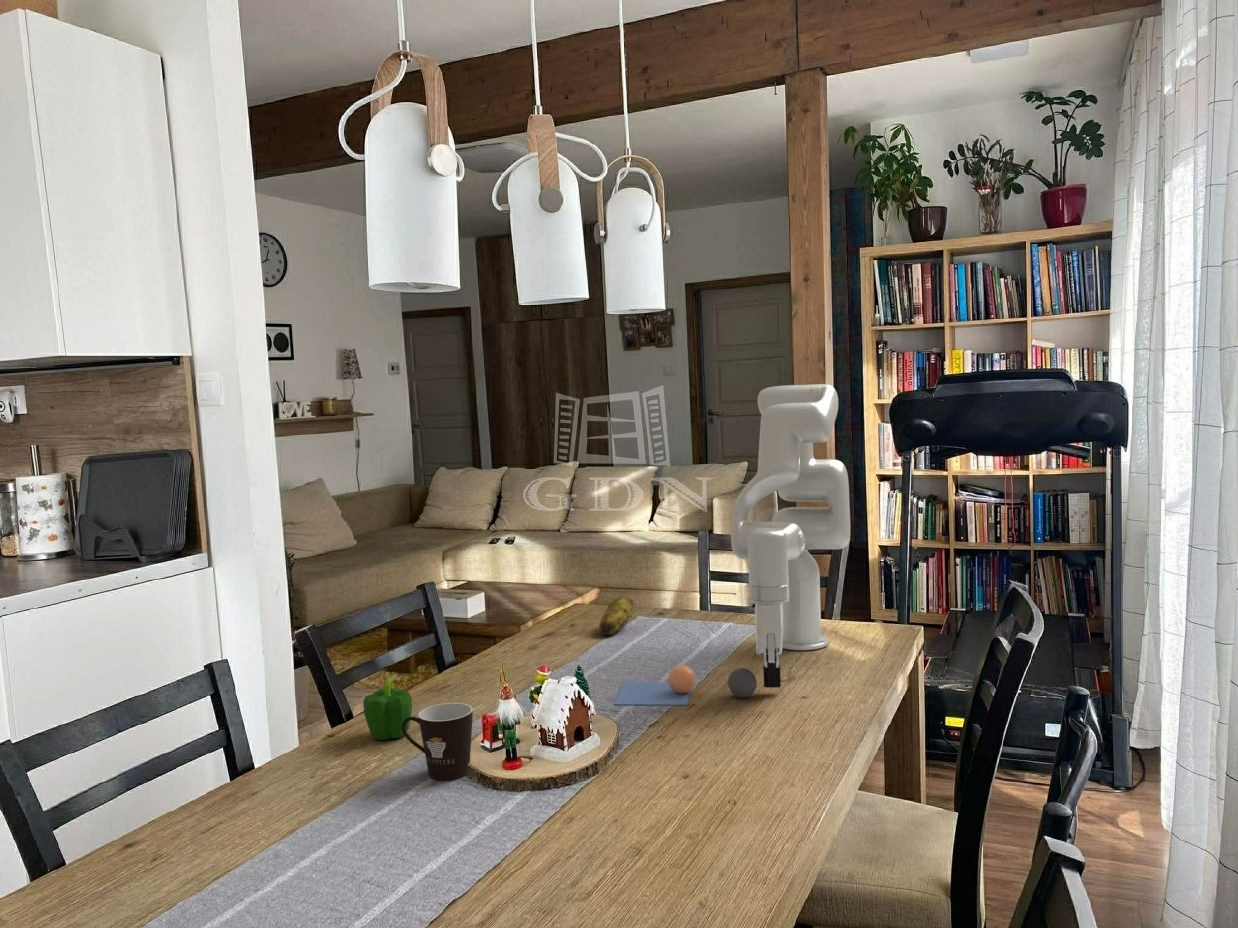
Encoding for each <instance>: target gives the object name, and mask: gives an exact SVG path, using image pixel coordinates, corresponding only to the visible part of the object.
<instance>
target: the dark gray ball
mask: <svg viewBox="0 0 1238 928" xmlns="http://www.w3.org/2000/svg"><path fill="white" fill-rule="evenodd" d="M727 679H728V680H727V686H728V689H729V691H730V692H731V693H732V695H734V696H735V697H737V698H749V696H752V694H754V693H755V691H756V688H757V685H758V683H757V678H756V675H755V674H754V673H753V672H752V671H751V670H750V669H747V668H743V667H742V668H739V667H738V668H736V669H734V670H733V671H732V672H731V673H730V674H729V676H728V678H727Z"/></svg>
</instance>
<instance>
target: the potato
mask: <svg viewBox="0 0 1238 928" xmlns="http://www.w3.org/2000/svg"><path fill="white" fill-rule="evenodd" d="M634 611H635V603H634V601H633V600H632V599H630V598H629V597H625V596H618V597H615V598H614V599H613V600H611V602H610V603H609V605H608V606H607V608H606V609H605V611H604V613H603V616H602V617H601V618H600V622H599V627H598V628H599V630H600V632H601V633H602V634H603V635H606V636H607V635H608V636H612V635H614V634H616V633H617V632H618V630H619V631H620V630H621V629H622V628H624V626H626V624H627V623H628V621H629V620H630V619H631V618H632V616H633V614H634Z"/></svg>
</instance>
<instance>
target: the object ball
mask: <svg viewBox="0 0 1238 928" xmlns="http://www.w3.org/2000/svg"><path fill="white" fill-rule="evenodd" d="M667 682H668V684H669V686H670V688H671V689H672V690H673V691H674V692H676V693H678V694H686V693H688V692H690V693H691V691H692V690H693V689H694V688H695V686H696V682H697V677H696V674H695V671H694V670H693V669H692V668H690V666H687V665H682V664H681V665H676V666H674V667H672V669H671V670H670V671H669V673H668V676H667Z"/></svg>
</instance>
